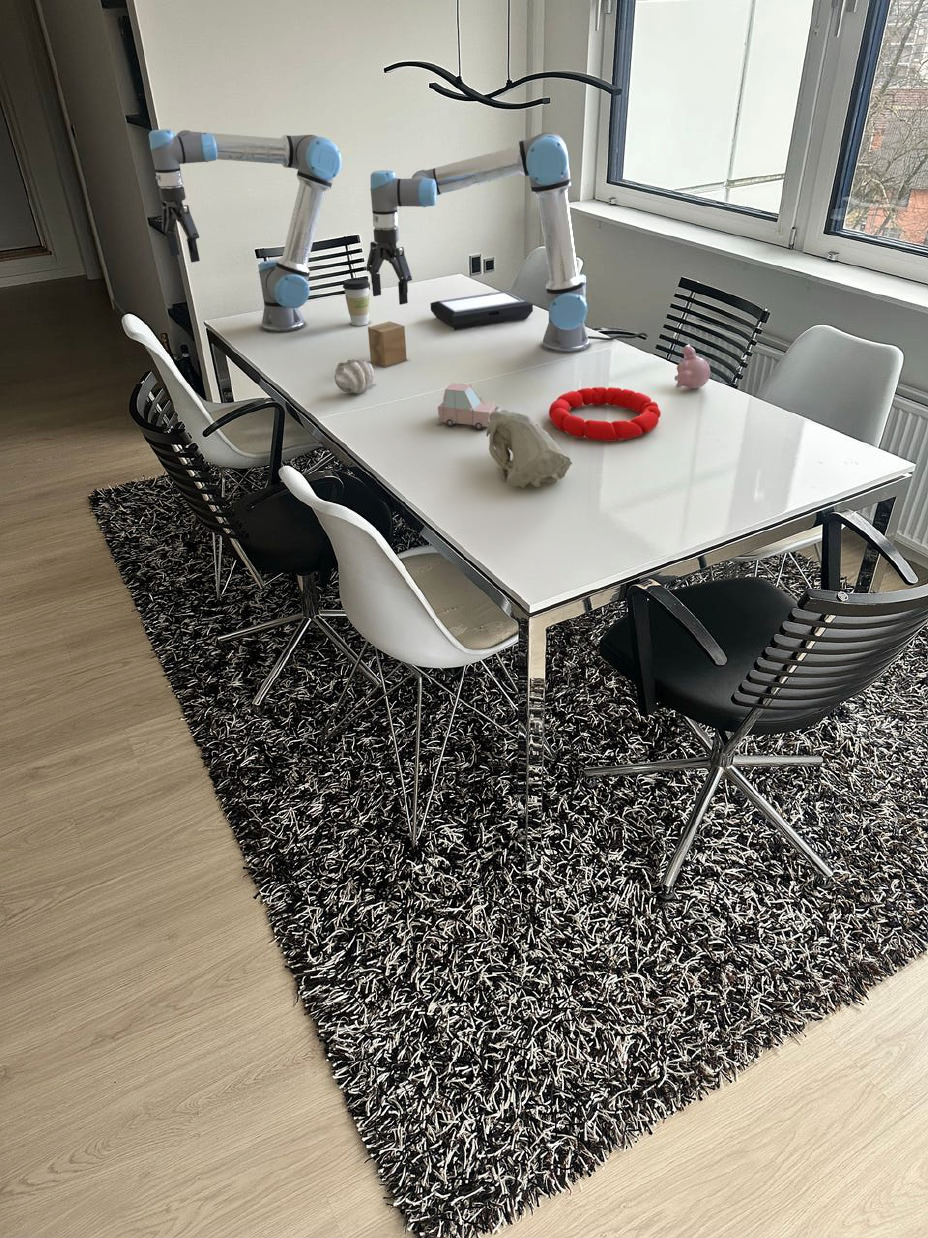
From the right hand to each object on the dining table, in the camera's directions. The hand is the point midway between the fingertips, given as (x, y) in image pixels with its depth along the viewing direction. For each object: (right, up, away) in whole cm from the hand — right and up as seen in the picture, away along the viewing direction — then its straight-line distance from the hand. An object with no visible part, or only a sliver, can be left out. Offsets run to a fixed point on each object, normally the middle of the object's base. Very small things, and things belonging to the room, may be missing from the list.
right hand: (390, 299), depth 282 cm
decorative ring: (+62, -47, -38) cm, 87 cm away
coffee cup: (-15, +7, +45) cm, 48 cm away
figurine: (+90, -33, -19) cm, 98 cm away
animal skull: (+37, -64, -62) cm, 97 cm away
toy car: (+25, -47, -36) cm, 64 cm away
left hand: (-67, +16, +7) cm, 69 cm away
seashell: (-9, -33, -14) cm, 37 cm away
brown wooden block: (-1, -17, +9) cm, 19 cm away
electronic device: (+30, +9, +45) cm, 55 cm away
